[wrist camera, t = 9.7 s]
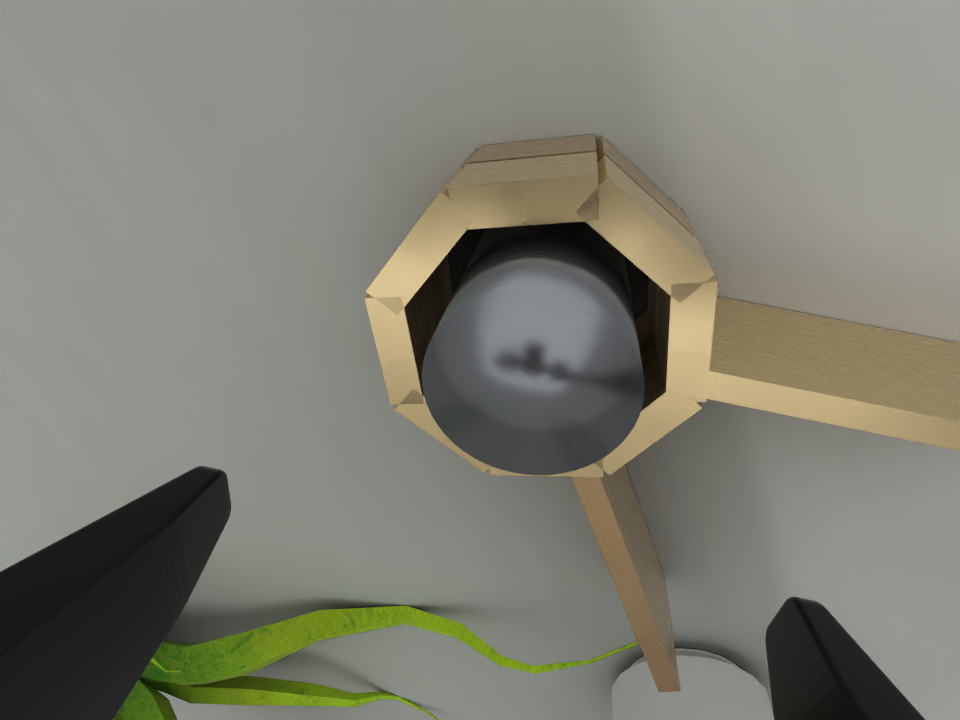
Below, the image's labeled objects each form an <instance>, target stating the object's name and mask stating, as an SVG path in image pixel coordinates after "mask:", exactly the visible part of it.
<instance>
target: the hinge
mask: <svg viewBox="0 0 960 720" xmlns="http://www.w3.org/2000/svg"><path fill="white" fill-rule="evenodd" d="M582 221H585V222H586V223H588V224H589V225H590V226H591V227H592V228H593V229H594V230H596V231H597V232H598V233H599V234H600V235H601V236H602V237H604V238H605V239H606V240H607V241H608V242H609V243H611V244H612V245H613V246H614V247H615V248H616V249H617V250H619V251H620V252H621V253H622V254H623V255H624V256H625V257H627V258H628V259H629V260H630V261H631V262H632V263H633V264H635V265H636V266H637V267H638V268H639V269H640V270H642V271H643V272H644V273H645V274H646V275H647V276H648V277H649V287H648V308H647V309H646V310H645V311H644V312H643V313H642V314H641V315H639V316H638V317H637V318H636V319H635V324H636V330H637V336H638V342H639V349H640V355H641V361H642V367H643V374H644V385H645V393H644V401H643V406H642V409H641V413H640V416H639V418H638V420H637V422H636V424H635V426H634V428H633V429H632V431H631V432H630V434H629V435H628V437H627V438H626V439H625V440H624V441H623V442H622V443H621V444H620V445H619V446H618V447H617V448H616V449H615V450H614V451H612V452H611V453H610V454H608V455H607V456H605V457H604V458H602V459H601V460H599V461H597V462H595V463H593V464H591V465H589V466H586V467H584V468H581V469H578V470H575V471H571V472H567V473H561V474H554V475H525V474H519V473H513V472H508V471H505V470H501V469H498V468H495V467H492V466H490V465H487V464H485V463H483V462H481V461H479V460H477V459H475V458H473V457H472V456H470V455H469V454H467V453H465V452H464V451H463V450H461V449H460V448H459V447H458V446H456V445H455V444H454V443H453V442H452V441H451V440H450V439H449V438H448V437H447V436H446V435H445V434H444V433H443V431H442V430H441V429H440V428H439V426H438V425H437V423H436V422H435V420H434V419H433V417H432V415H431V413H430V411H429V408H428V406H427V404H426V400H425V397H424V393H423V386H422V367H423V361H424V356H425V353H426V351H427V348H428V345H429V343H430V341H431V339H432V337H433V335H434V333H435V331H436V329H437V327H438V324H439V322H440V320H441V318H442V316H443V314H444V312H445V310H446V308H447V306H448V304H449V302H450V300H451V298H452V296H453V294H454V293H453V287H452V280H451V274H450V267H449V261H448V255H447V254H448V252H449V251H450V250H451V249H452V247H453V246H454V245H455V244H456V242H457V241H458V240H459V239H460V238H461V236H462V235H463V234H464V233H465V231H466V230H469V229H483V228H498V227H512V226H526V225H540V224H554V223H568V222H582ZM714 274H715V273H714V271H713V269H712V267H711V265H710V263H709V261H708V259H707V258H706V256H705V254H704V252H703V250H702V248H701V246H700V244H699V242H698V240H697V238H696V236H695V234H694V232H693V230H692V228H691V226H690V224H689V222H688V220H687V218H686V216H685V214H684V212H683V210H682V209H681V208H679V207H678V206H677V205H676V204H675V203H674V202H673V201H672V200H671V199H670V198H669V197H668V196H666V195H665V194H664V193H663V192H662V191H661V190H660V189H659V188H658V187H657V186H656V185H655V184H653V183H652V182H651V181H650V180H649V179H648V178H647V177H646V176H645V175H644V174H643V173H641V172H640V171H639V170H638V169H637V168H636V167H635V166H634V165H633V164H632V163H631V162H630V161H628V160H627V159H626V158H625V157H624V156H623V155H622V154H621V153H620V152H619V151H618V150H617V149H615V148H614V147H613V146H612V145H611V144H610V143H609V142H608V141H607V140H606V139H605V138H604V137H601V138H600V139H599V140H598V141H597V142H596V137H595V134H589V135H579V136H569V137H559V138H550V139H540V140H530V141H520V142H510V143H500V144H490V145H482V147H481V148H480V149H479V150H478V149H476V150H475V151H474V152H473V154H472V155H471V156H470V157H469V158H468V159H467V161H466V162H465V163H464V164H463V165H462V166H461V168H460V169H459V170H458V171H457V172H456V173H455V175H454V176H453V177H452V178H451V179H450V180H449V181H448V183H447V184H446V185H445V186H444V187H443V188H442V190H441V191H440V192H439V193H438V195H437V196H436V197H435V199H434V200H433V202H432V203H431V204H430V206H429V207H428V208H427V210H426V211H425V212H424V214H423V215H422V216H421V218H420V219H419V220H418V222H417V223H416V224H415V226H414V227H413V228H412V230H411V231H410V233H409V234H408V235H407V237H406V238H405V239H404V241H403V242H402V243H401V245H400V246H399V247H398V249H397V250H396V251H395V253H394V254H393V255H392V257H391V258H390V260H389V261H388V262H387V264H386V265H385V266H384V268H383V269H382V270H381V272H380V273H379V274H378V276H377V277H376V278H375V280H374V281H373V282H372V284H371V285H370V286H369V288H368V289H367V291H366V292H367V293H368V295H367V296H366V297H365V303H366V307H367V311H368V315H369V319H370V323H371V327H372V331H373V335H374V339H375V344H376V348H377V352H378V356H379V360H380V364H381V368H382V372H383V376H384V380H385V385H386V389H387V393H388V397H389V401H390V404H397V405H396V407H395V409H394V410H395V411H397V412H398V413H400V414H401V415H403V416H404V417H405V418H407V419H408V420H410V421H411V422H412V423H414V424H415V425H417V426H418V427H419V428H421V429H422V430H424V431H425V432H427V433H428V434H429V435H431V436H432V437H434V438H435V439H436V440H438V441H439V442H441V443H442V444H443V445H445V446H446V447H448V448H449V449H451V450H452V451H453V452H455V453H456V454H458V455H459V456H460V457H462V458H463V459H465V460H466V461H468V462H469V463H470V464H472V465H473V466H475V467H476V468H477V469H479V470H480V471H482V472H483V473H484V472H485V471H487V470H488V469H489V470H490V475H514V476H568V477H571V479H572V481H573V484H574V486H575V489H576V491H577V493H578V496H579V498H580V501H581V503H582V506H583V508H584V510H585V513H586V515H587V518H588V520H589V523H590V525H591V528H592V530H593V532H594V535H595V537H596V540H597V542H598V545H599V547H600V550H601V552H602V554H603V557H604V559H605V562H606V564H607V567H608V569H609V572H610V574H611V576H612V579H613V581H614V584H615V586H616V589H617V591H618V593H619V596H620V598H621V601H622V603H623V606H624V608H625V611H626V613H627V615H628V618H629V620H630V623H631V625H632V628H633V630H634V633H635V635H636V637H637V640H638V642H639V645H640V647H641V650H642V652H643V655H644V657H645V659H646V662H647V664H648V667H649V669H650V672H651V674H652V676H653V679H654V681H655V684H656V686H657V689H658V691H659V692H675V691H681V687H680V680H679V673H678V666H677V659H676V652H675V645H674V638H673V630H672V623H671V616H670V609H669V602H668V595H667V588H666V581H665V576H664V573H663V570H662V567H661V565H660V562H659V559H658V556H657V553H656V550H655V547H654V544H653V542H652V539H651V536H650V533H649V530H648V527H647V524H646V522H645V519H644V516H643V513H642V510H641V507H640V504H639V501H638V499H637V496H636V493H635V490H634V487H633V484H632V481H631V478H630V476H629V473H628V470H627V467H626V463H627V462H629V461H630V460H632V459H633V458H634V457H636V456H637V455H638V454H640V453H641V452H643V451H644V450H645V449H647V448H648V447H649V446H651V445H652V444H654V443H655V442H656V441H658V440H659V439H660V438H662V437H663V436H665V435H666V434H667V433H669V432H670V431H672V430H673V429H674V428H676V427H677V426H678V425H680V424H681V423H683V422H684V421H685V420H687V419H688V418H689V417H691V416H692V415H694V414H695V413H696V412H698V411H699V410H700V409H702V405H701V402H706V400H707V399H710V400H715V401H720V402H725V403H730V404H735V405H739V406H744V407H749V408H754V409H759V410H764V411H769V412H774V413H779V414H783V415H788V416H793V417H798V418H803V419H808V420H813V421H818V422H823V423H828V424H832V425H837V426H842V427H847V428H852V429H857V430H862V431H867V432H872V433H876V434H881V435H886V436H891V437H896V438H901V439H906V440H911V441H916V442H920V443H925V444H930V445H935V446H940V447H945V448H950V449H955V450H960V343H957V342H952V341H947V340H942V339H936V338H931V337H926V336H921V335H916V334H910V333H905V332H900V331H895V330H890V329H884V328H879V327H874V326H869V325H864V324H858V323H853V322H848V321H843V320H838V319H832V318H827V317H822V316H817V315H812V314H807V313H801V312H796V311H791V310H786V309H781V308H775V307H770V306H765V305H760V304H755V303H749V302H744V301H739V300H734V299H729V298H723V297H718V296H717V285H718V281H717V279H716V277H715V275H714Z"/></svg>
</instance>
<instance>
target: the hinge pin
mask: <svg viewBox="0 0 960 720" xmlns="http://www.w3.org/2000/svg"><path fill="white" fill-rule="evenodd" d="M422 386H423V393H424V397H425V400H426V404H427V406H428V408H429V411H430V413H431V415H432V417H433V419H434V420H435V422H436V423H437V425H438V426H439V428H440V429H441V430H442V431H443V433H444V434H445V435H446V436H447V437H448V438H449V439H450V440H451V441H452V442H453V443H454V444H455V445H456V446H458V447H459V448H460V449H461V450H463V451H464V452H465V453H467V454H469V455H470V456H472V457H473V458H475V459H477V460H479V461H481V462H483V463H485V464H487V465H490V466H492V467H495V468H498V469H501V470H505V471H508V472H513V473H519V474H525V475H554V474H561V473H567V472H571V471H575V470H578V469H581V468H584V467H586V466H589V465H591V464H593V463H595V462H597V461H599V460H601V459H602V458H604V457H605V456H607V455H608V454H610V453H611V452H612V451H614V450H615V449H616V448H617V447H618V446H619V445H620V444H621V443H622V442H623V441H624V440H625V439H626V438H627V437H628V435H629V434H630V432H631V431H632V429H633V428H634V426H635V424H636V422H637V420H638V418H639V416H640V413H641V409H642V406H643V401H644V393H645V385H644V374H643V367H642V361H641V355H640V349H639V342H638V336H637V330H636V324H635V318H634V311H633V305H632V299H631V293H630V286H629V280H628V274H627V268H626V261H625V256H624V255H623V254H622V253H621V252H620V251H619V250H617V249H616V248H615V247H614V246H613V245H612V244H611V243H609V242H608V241H607V240H606V239H605V238H604V237H602V236H601V235H600V234H599V233H598V232H597V231H596V230H594V229H593V228H592V227H591V226H590V225H589V224H588V223H586V222H585V221H582V222H568V223H554V224H540V225H526V226H512V227H498V228H486V230H485V231H484V233H483V235H482V236H481V238H480V240H479V242H478V244H477V246H476V248H475V250H474V252H473V255H472V257H471V259H470V261H469V263H468V265H467V267H466V269H465V271H464V273H463V275H462V277H461V279H460V281H459V283H458V285H457V287H456V290H455V292H454V294H453V296H452V298H451V300H450V302H449V304H448V306H447V308H446V310H445V312H444V314H443V316H442V318H441V320H440V322H439V324H438V327H437V329H436V331H435V333H434V335H433V337H432V339H431V341H430V343H429V345H428V348H427V351H426V353H425V356H424V361H423V367H422Z"/></svg>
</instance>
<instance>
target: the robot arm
mask: <svg viewBox="0 0 960 720" xmlns="http://www.w3.org/2000/svg"><path fill="white" fill-rule="evenodd" d="M230 512H231V500H230V493H229V486H228V479H227V475H226V473H225V472H224V471H222V470H219V469H215V468H210V467H206V466H199V467H196V468H194V469H192V470H190V471H188V472H186V473H184V474H182V475H181V476H179V477H177V478H175V479H173V480H171V481H169V482H167V483H166V484H164V485H162V486H160V487H158V488H156V489H154V490H152V491H151V492H149V493H147V494H145V495H143V496H141V497H139V498H137V499H136V500H134V501H132V502H130V503H128V504H126V505H124V506H122V507H121V508H119V509H117V510H115V511H113V512H111V513H109V514H107V515H106V516H104V517H102V518H100V519H98V520H96V521H94V522H93V523H91V524H89V525H87V526H85V527H83V528H81V529H79V530H78V531H76V532H74V533H72V534H70V535H68V536H66V537H64V538H63V539H61V540H59V541H57V542H55V543H53V544H51V545H49V546H48V547H46V548H44V549H42V550H40V551H38V552H36V553H34V554H33V555H31V556H29V557H27V558H25V559H23V560H21V561H19V562H18V563H16V564H14V565H12V566H10V567H8V568H6V569H4V570H3V571H1V572H0V720H113V719H114V718H115V716H116V715H117V713H118V711H119V710H120V708H121V707H122V705H123V704H124V702H125V700H126V699H127V697H128V696H129V694H130V693H131V691H132V689H133V688H134V686H135V685H136V683H137V681H138V680H139V678H140V677H141V675H142V674H143V672H144V670H145V669H146V667H147V666H148V664H149V663H150V661H151V659H152V658H153V656H154V655H155V653H156V651H157V650H158V648H159V647H160V645H161V644H162V642H163V640H164V639H165V637H166V636H167V634H168V633H169V631H170V629H171V628H172V626H173V625H174V623H175V621H176V620H177V618H178V616H179V615H180V613H181V611H182V610H183V608H184V606H185V605H186V603H187V601H188V599H189V597H190V595H191V593H192V591H193V589H194V587H195V585H196V583H197V581H198V579H199V577H200V575H201V573H202V571H203V569H204V567H205V565H206V563H207V561H208V559H209V557H210V555H211V553H212V551H213V549H214V547H215V545H216V543H217V541H218V539H219V537H220V535H221V533H222V531H223V529H224V527H225V525H226V523H227V521H228V519H229V516H230ZM766 651H767V660H768V669H769V678H770V688H771V697H772V706H773V715H774V720H925V719H924V718H923V717H922V716H921V714H920V713H919V712H918V711H917V710H916V709H915V708H914V707H913V705H912V704H911V703H910V702H909V701H908V700H907V699H906V698H905V696H904V695H903V694H902V693H901V692H900V691H899V690H898V689H897V688H896V686H895V685H894V684H893V683H892V682H891V681H890V680H889V679H888V677H887V676H886V675H885V674H884V673H883V672H882V671H881V670H880V668H879V667H878V666H877V665H876V664H875V663H874V662H873V661H872V660H871V658H870V657H869V656H868V655H867V654H866V653H865V652H864V651H863V649H862V648H861V647H860V646H859V645H858V644H857V643H856V642H855V640H854V639H853V638H852V637H851V636H850V635H849V634H848V633H847V632H846V630H845V629H844V628H843V627H842V626H841V625H840V624H839V623H838V621H837V620H836V619H835V618H834V617H833V616H832V615H831V614H830V612H829V611H828V610H827V609H826V608H825V607H824V606H823V605H821V604H820V603H818V602H816V601H812V600H807V599H803V598H798V597H791V598H789V599H787V600H786V601H785V603H784V604H783V606H782V607H781V609H780V610H779V611H778V613H777V614H776V616H775V617H774V619H773V620H772V622H771V623H770V624H769V626H768V628H767V631H766Z"/></svg>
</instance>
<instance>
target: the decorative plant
mask: <svg viewBox="0 0 960 720" xmlns="http://www.w3.org/2000/svg"><path fill="white" fill-rule="evenodd" d="M402 624H407V625H411V626H415V627H419V628H422V629H426V630H430V631H433V632H437V633H441V634H445V635H448V636H452V637H456V638H458V639H460V640H461V641H463V642H464V643H466V644H467V645H469V646H470V647H472V648H473V649H475V650H476V651H478V652H479V653H481V654H482V655H484V656H486V657H487V658H489V659H490V660H492V661H493V662H495V663H496V664H498V665H499V666H503V667H508V668H513V669H517V670H522V671H526V672H531V673H535V674H537V673H542V672H547V671H553V670H558V669H563V668H568V667H574V666H579V665H584V664H589V663H593V662H595V661H598V660H600V659H603V658H605V657H608V656H610V655H613V654H615V653H618V652H620V651H623V650H625V649H628V648H630V647H633V646H635V645H638V644H637V642H634V643H631V644H629V645H626V646H624V647H621V648H619V649H616V650H614V651H611V652H609V653H606V654H604V655H601V656H599V657H597V658H594V659H592V660H587V661H577V662H567V663H557V664H547V665H537V666H531V665H528V664H525V663H522V662H519V661H516V660H513V659H510V658H507V657H504V656H501V655H500V654H498V653H497V652H496V651H495V650H493V649H492V648H491V647H490V646H488V645H487V644H486V643H485V642H483V641H482V640H481V639H480V638H478V637H477V636H476V635H475V634H473V633H472V632H471V631H470V630H468V629H467V628H466V627H465V626H463V625H462V624H461V623H458V622H455V621H452V620H449V619H446V618H443V617H440V616H437V615H434V614H431V613H427V612H424V611H421V610H418V609H415V608H412V607H409V606H390V607H371V608H351V609H332V610H318V611H315V612H311V613H308V614H305V615H301V616H298V617H294V618H291V619H287V620H284V621H281V622H277V623H274V624H270V625H267V626H264V627H260V628H257V629H253V630H250V631H246V632H243V633H240V634H236V635H232V636H228V637H224V638H220V639H216V640H212V641H208V642H204V643H200V644H196V645H190V644H184V643H178V642H172V641H164V640H163V642H162V644H161V645H160V647H159V648H158V650H157V651H156V653H155V655H154V656H153V658H152V659H151V661H150V663H149V664H148V666H147V667H146V669H145V670H144V672H143V674H142V675H141V677H140V678H139V680H138V681H137V683H136V685H135V686H134V688H133V689H132V691H131V693H130V694H129V696H128V697H127V699H126V700H125V702H124V704H123V705H122V707H121V708H120V710H119V711H118V713H117V715H116V716H115V718H114V720H177V718H176V716H175V713H174V711H173V709H172V706H171V704H170V702H169V700H168V699H167V698H166V697H165V696H163V695H162V694H161V693H160V692H159V691H162V692H165V693H167V694H170V695H172V696H175V697H177V698H179V699H182V700H184V701H187V702H189V703H204V704H232V705H300V706H343V707H355V706H358V705H362V704H366V703H369V702H373V701H376V700H380V699H396V700H400V701H402V702H404V703H406V704H408V705H410V706H413V707H415V708H417V709H419V710H421V711H423V712H426V713H427V714H428V715H430V716H431V717H432V718H434V719H435V720H438V719H437V718H436V717H434V716H433V715H432V714H430V713H429V712H428V711H426V710H425V709H423V708H421V707H420V706H418V705H416V704H414V703H413V702H411V701H409V700H406V699H404V698H401V697H399V696H396V695H393V694H390V693H386V692H367V693H350V692H346V691H342V690H338V689H334V688H330V687H326V686H322V685H318V684H313V683H305V682H297V681H288V680H280V679H272V678H264V677H251V676H244V675H248V674H250V673H252V672H254V671H256V670H258V669H261V668H263V667H265V666H267V665H269V664H271V663H273V662H275V661H277V660H279V659H282V658H284V657H286V656H288V655H290V654H292V653H294V652H296V651H298V650H300V649H303V648H305V647H307V646H309V645H311V644H313V643H315V642H317V641H319V640H324V639H330V638H335V637H340V636H345V635H350V634H355V633H361V632H366V631H371V630H376V629H381V628H386V627H391V626H397V625H402ZM157 690H158V691H157Z"/></svg>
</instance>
